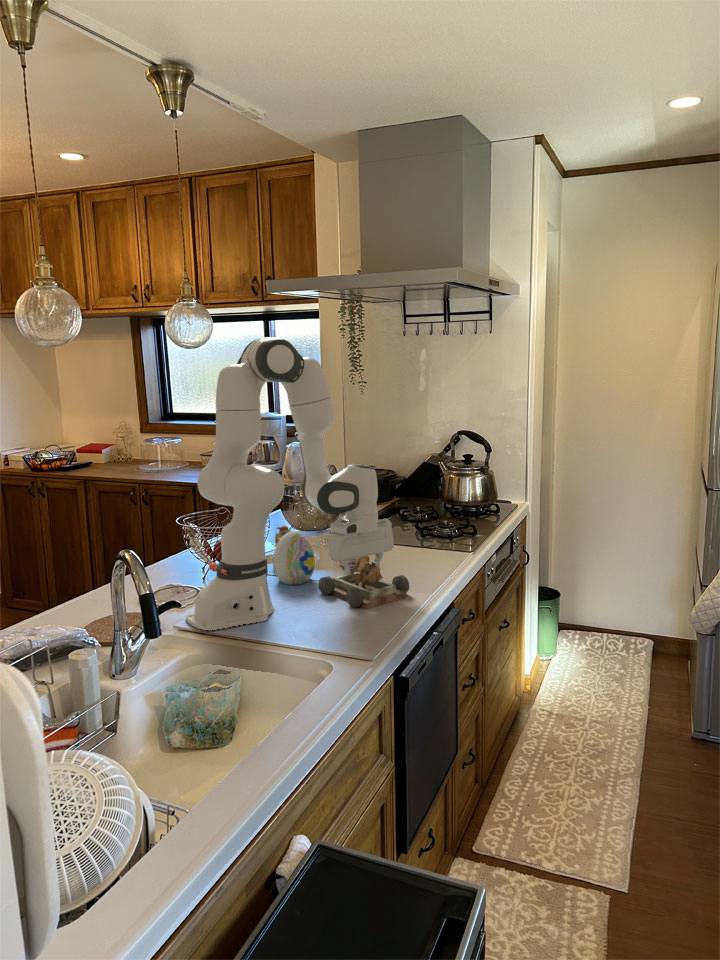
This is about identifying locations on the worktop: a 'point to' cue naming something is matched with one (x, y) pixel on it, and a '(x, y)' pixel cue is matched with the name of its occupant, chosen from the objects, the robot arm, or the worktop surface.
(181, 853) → the worktop surface
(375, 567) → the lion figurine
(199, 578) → the worktop surface
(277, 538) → the toy helicopter
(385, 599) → the toy car chassis
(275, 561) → the decorative egg
